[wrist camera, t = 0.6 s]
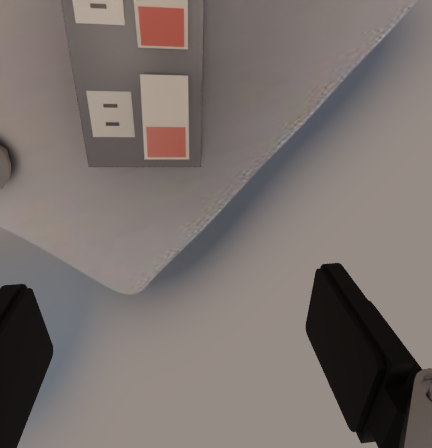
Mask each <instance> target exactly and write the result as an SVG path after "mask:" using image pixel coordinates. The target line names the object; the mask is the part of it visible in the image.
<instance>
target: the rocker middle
mask: <svg viewBox="0 0 432 448" xmlns="http://www.w3.org/2000/svg"><path fill="white" fill-rule="evenodd" d="M134 11H135V22H136V32H137V43H138V48H161V49H188V0H134Z"/></svg>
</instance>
